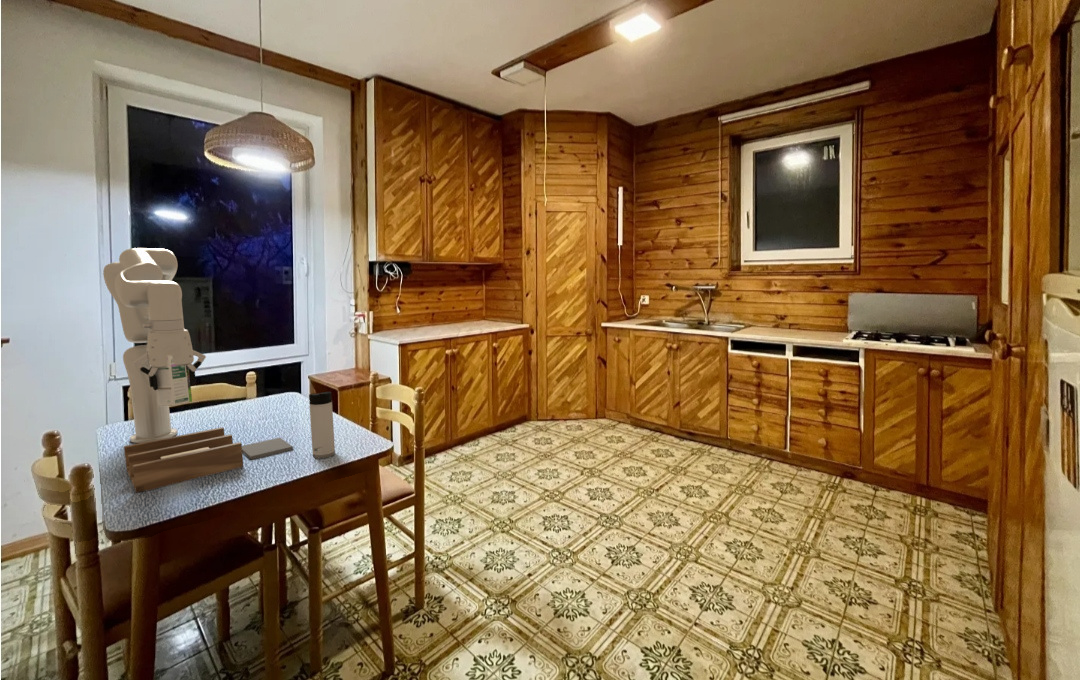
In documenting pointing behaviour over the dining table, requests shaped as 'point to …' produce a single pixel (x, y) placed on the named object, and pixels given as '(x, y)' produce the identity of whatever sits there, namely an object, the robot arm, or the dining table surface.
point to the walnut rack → (181, 458)
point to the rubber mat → (266, 448)
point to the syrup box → (173, 384)
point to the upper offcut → (184, 452)
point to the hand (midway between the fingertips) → (173, 386)
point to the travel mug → (322, 425)
